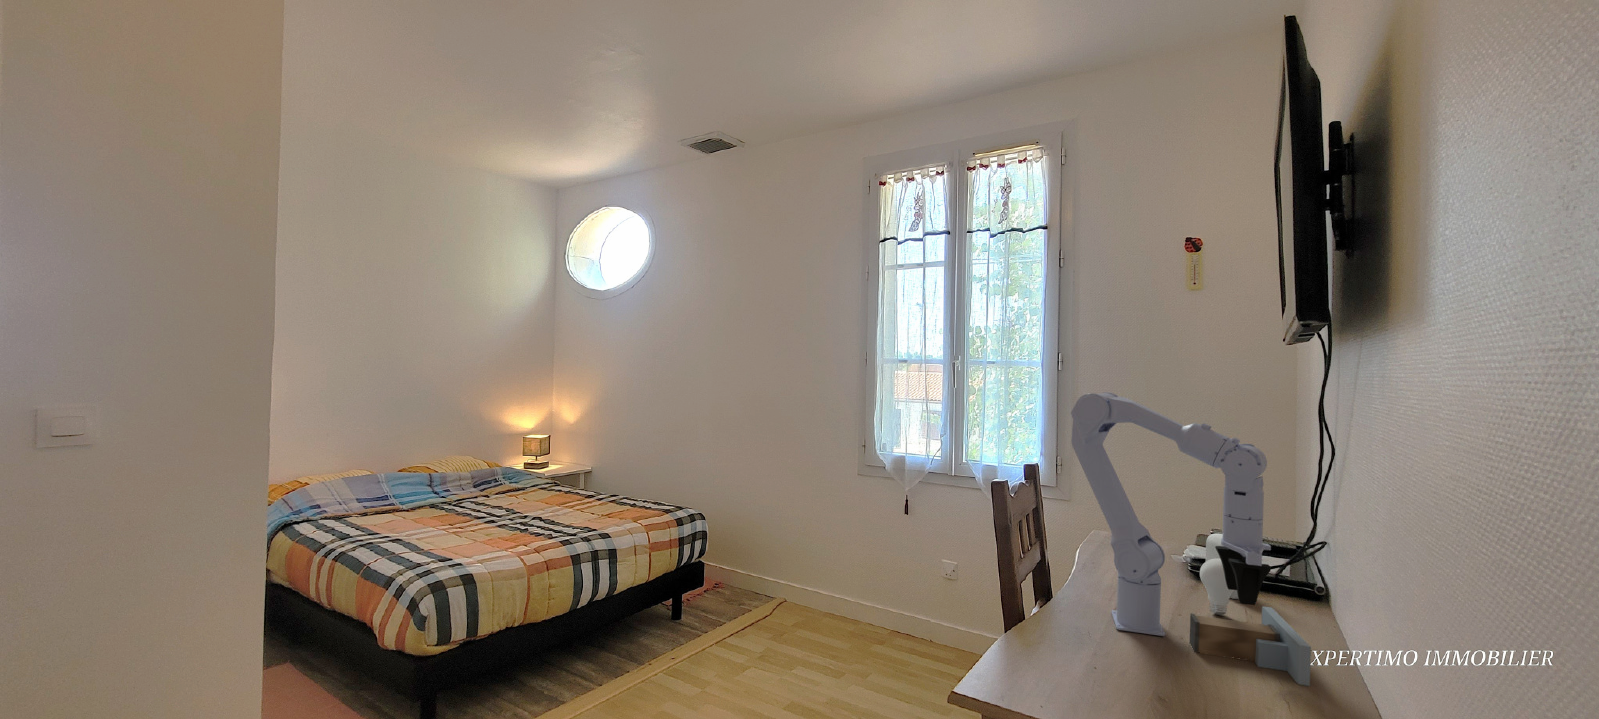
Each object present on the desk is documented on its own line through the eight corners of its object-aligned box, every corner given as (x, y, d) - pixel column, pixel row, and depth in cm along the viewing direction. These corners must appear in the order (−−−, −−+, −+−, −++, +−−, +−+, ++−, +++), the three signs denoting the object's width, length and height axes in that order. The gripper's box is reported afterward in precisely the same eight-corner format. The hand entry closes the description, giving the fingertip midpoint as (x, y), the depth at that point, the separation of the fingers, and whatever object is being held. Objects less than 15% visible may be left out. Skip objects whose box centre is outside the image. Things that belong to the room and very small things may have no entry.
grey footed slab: (1235, 636, 123) (1236, 603, 123) (1270, 641, 121) (1271, 607, 121) (1267, 679, 106) (1269, 640, 106) (1309, 685, 104) (1310, 646, 104)
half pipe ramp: (1194, 652, 116) (1195, 621, 116) (1189, 642, 120) (1190, 613, 120) (1279, 665, 112) (1280, 633, 112) (1271, 655, 116) (1271, 624, 116)
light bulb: (1224, 609, 137) (1226, 554, 137) (1245, 622, 130) (1247, 564, 130) (1191, 608, 137) (1193, 553, 137) (1210, 620, 130) (1212, 563, 130)
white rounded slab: (1201, 583, 153) (1203, 528, 153) (1221, 584, 153) (1223, 529, 153) (1226, 599, 143) (1228, 540, 143) (1248, 600, 143) (1249, 541, 143)
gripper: (1285, 528, 107) (1282, 614, 107) (1257, 510, 121) (1255, 586, 121) (1233, 523, 110) (1231, 607, 110) (1212, 506, 123) (1210, 581, 123)
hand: (1240, 596), depth 116 cm, fingers open, 7 cm apart
